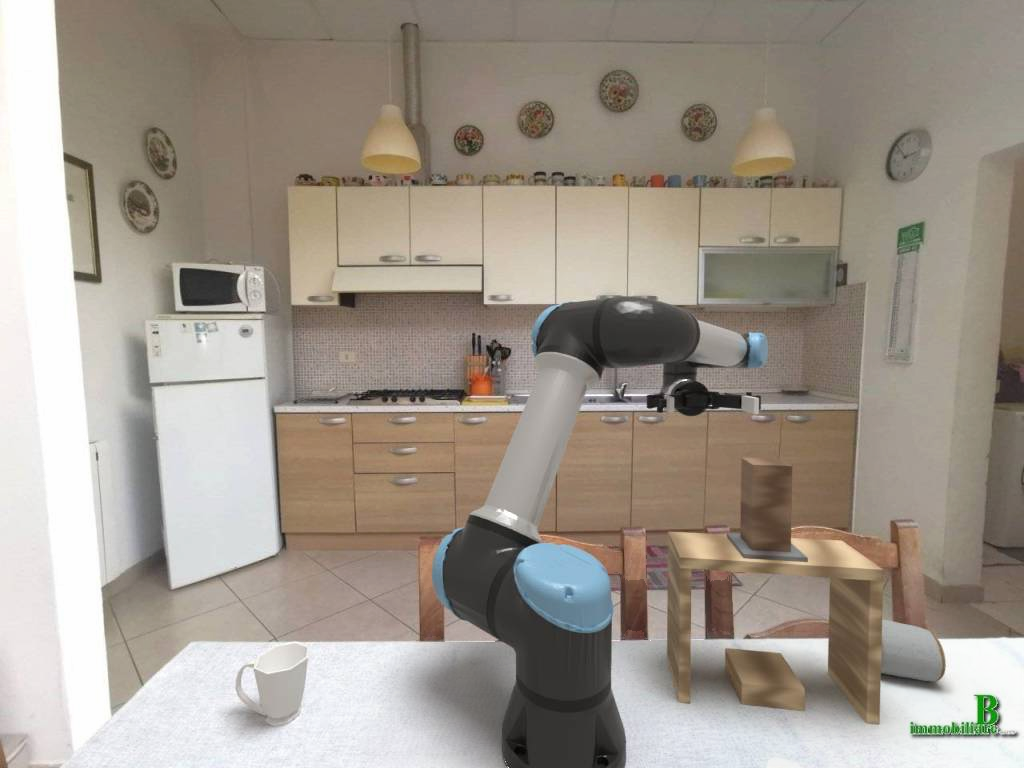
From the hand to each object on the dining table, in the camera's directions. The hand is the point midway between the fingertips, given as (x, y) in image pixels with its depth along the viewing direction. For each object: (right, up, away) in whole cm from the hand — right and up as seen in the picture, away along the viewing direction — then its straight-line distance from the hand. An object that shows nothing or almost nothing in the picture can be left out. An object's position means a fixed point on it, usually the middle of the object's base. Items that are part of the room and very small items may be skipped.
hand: (713, 405), depth 79 cm
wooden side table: (+2, -40, -12) cm, 42 cm away
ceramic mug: (+25, -40, -7) cm, 48 cm away
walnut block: (+2, -19, -12) cm, 23 cm away
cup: (-67, -41, -16) cm, 80 cm away
